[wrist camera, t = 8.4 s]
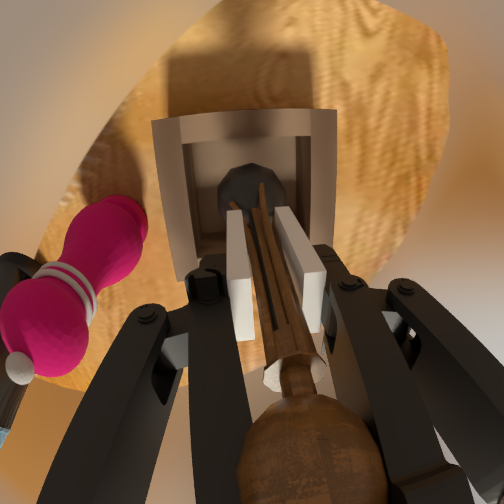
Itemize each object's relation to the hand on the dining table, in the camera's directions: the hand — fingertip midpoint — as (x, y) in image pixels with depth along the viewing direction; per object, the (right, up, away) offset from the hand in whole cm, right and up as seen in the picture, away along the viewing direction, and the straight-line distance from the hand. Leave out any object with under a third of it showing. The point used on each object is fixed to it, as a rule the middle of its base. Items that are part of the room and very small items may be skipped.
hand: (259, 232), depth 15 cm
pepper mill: (-14, +2, +12) cm, 18 cm away
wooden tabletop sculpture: (0, +3, +5) cm, 6 cm away
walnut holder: (-1, +6, +11) cm, 12 cm away
